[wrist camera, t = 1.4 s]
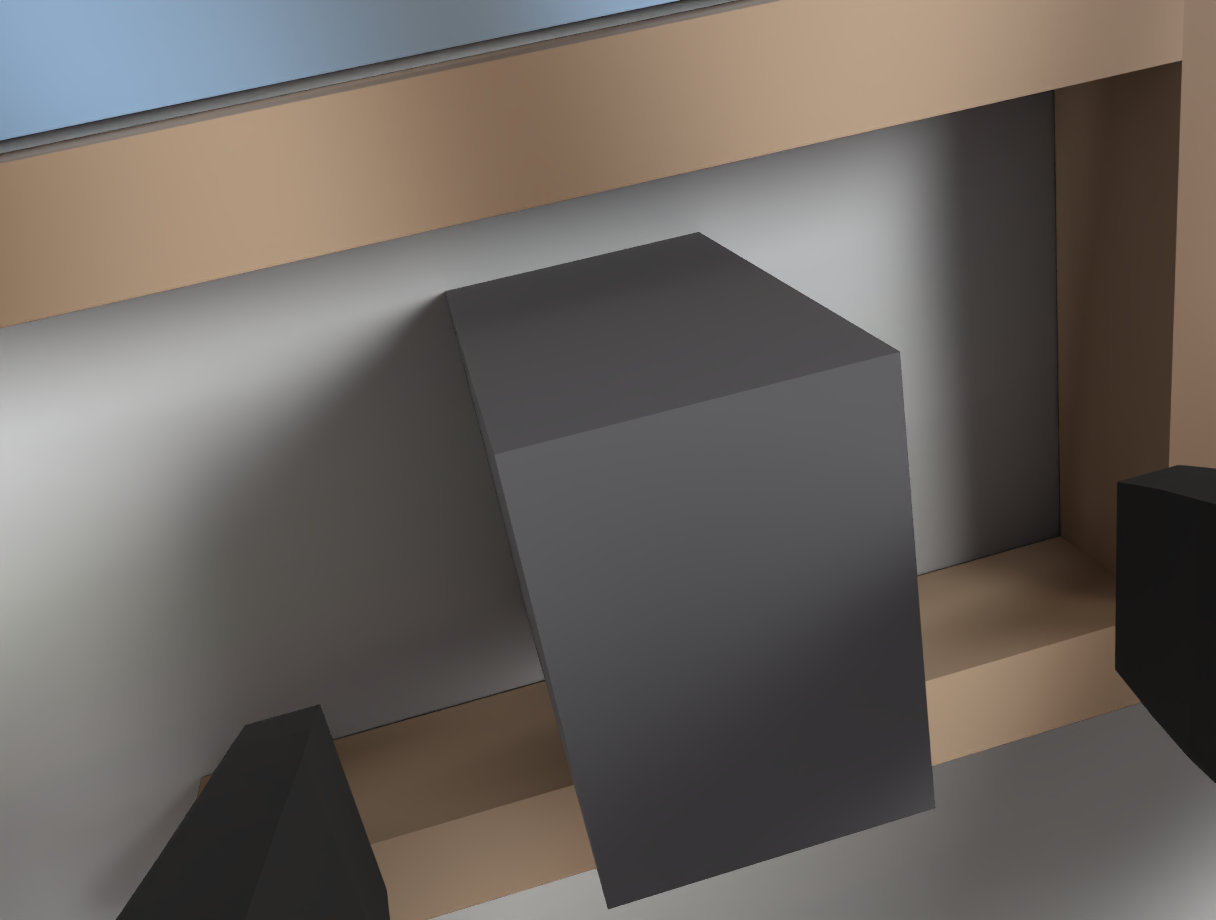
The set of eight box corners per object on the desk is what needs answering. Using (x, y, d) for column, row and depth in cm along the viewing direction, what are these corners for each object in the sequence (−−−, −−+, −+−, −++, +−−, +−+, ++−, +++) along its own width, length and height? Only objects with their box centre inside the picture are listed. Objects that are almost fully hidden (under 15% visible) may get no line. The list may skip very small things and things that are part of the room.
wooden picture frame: (1177, -1102, 10) (1404, -1418, 8) (1141, 589, 18) (1251, 668, 16) (-753, -940, 8) (-1171, -1303, 6) (135, 881, 16) (98, 1020, 14)
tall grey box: (698, 231, 14) (899, 351, 9) (746, 550, 16) (935, 807, 11) (445, 291, 14) (494, 455, 9) (526, 611, 16) (609, 909, 11)
